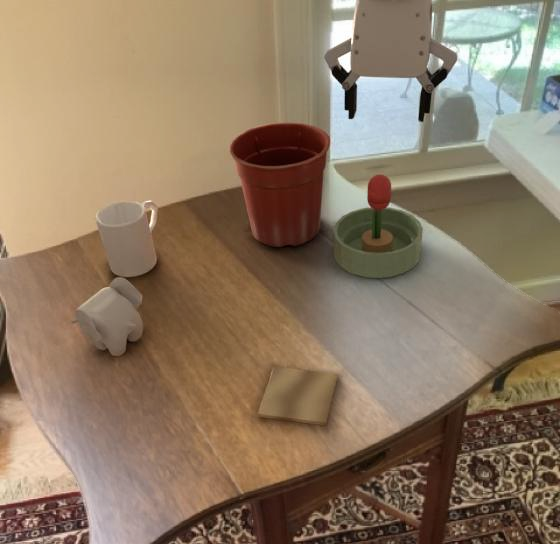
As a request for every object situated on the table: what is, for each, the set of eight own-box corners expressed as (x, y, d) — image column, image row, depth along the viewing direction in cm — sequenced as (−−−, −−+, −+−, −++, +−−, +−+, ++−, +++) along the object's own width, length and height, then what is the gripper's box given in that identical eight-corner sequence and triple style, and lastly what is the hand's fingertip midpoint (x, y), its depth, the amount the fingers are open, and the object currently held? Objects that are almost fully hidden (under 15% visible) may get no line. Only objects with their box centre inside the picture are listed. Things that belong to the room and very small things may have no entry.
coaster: (337, 376, 90) (337, 373, 89) (326, 425, 83) (325, 422, 83) (274, 369, 92) (273, 366, 91) (257, 416, 85) (257, 413, 85)
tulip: (393, 245, 110) (398, 168, 101) (390, 262, 107) (394, 184, 97) (364, 243, 111) (365, 167, 102) (359, 259, 108) (361, 183, 98)
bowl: (423, 235, 113) (425, 209, 110) (416, 284, 103) (418, 257, 100) (341, 229, 116) (341, 204, 113) (327, 277, 106) (326, 251, 103)
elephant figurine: (106, 309, 104) (91, 263, 98) (164, 332, 99) (152, 285, 93) (62, 345, 98) (43, 298, 92) (122, 371, 93) (106, 323, 87)
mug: (181, 247, 116) (171, 196, 109) (134, 282, 109) (120, 231, 102) (148, 235, 119) (136, 185, 112) (100, 269, 112) (84, 218, 106)
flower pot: (239, 210, 123) (229, 126, 112) (326, 202, 123) (324, 117, 112) (240, 259, 112) (228, 171, 100) (337, 251, 111) (336, 162, 100)
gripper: (468, -31, 81) (451, 107, 93) (329, -30, 84) (330, 103, 96) (466, -13, 76) (448, 131, 88) (318, -13, 79) (320, 125, 91)
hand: (386, 116), depth 92 cm, fingers open, 9 cm apart
